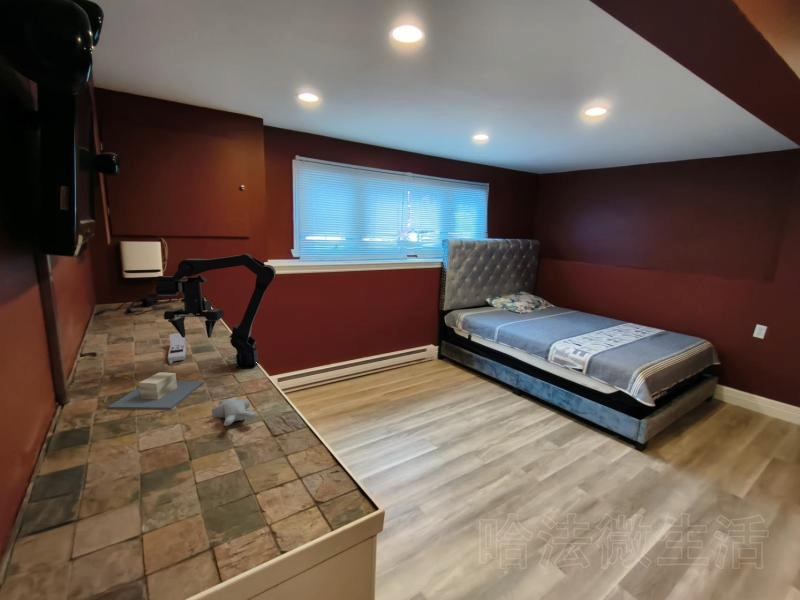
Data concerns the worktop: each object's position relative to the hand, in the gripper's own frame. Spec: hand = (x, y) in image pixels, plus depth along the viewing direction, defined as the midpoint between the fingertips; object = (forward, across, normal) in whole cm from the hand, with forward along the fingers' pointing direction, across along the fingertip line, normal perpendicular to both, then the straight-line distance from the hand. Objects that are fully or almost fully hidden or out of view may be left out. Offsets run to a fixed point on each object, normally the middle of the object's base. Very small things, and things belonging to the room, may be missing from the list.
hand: (196, 337), depth 130 cm
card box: (+11, +1, +21) cm, 24 cm away
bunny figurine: (+12, -28, +35) cm, 46 cm away
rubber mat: (+12, +1, +21) cm, 24 cm away
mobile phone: (+12, +18, -16) cm, 27 cm away
